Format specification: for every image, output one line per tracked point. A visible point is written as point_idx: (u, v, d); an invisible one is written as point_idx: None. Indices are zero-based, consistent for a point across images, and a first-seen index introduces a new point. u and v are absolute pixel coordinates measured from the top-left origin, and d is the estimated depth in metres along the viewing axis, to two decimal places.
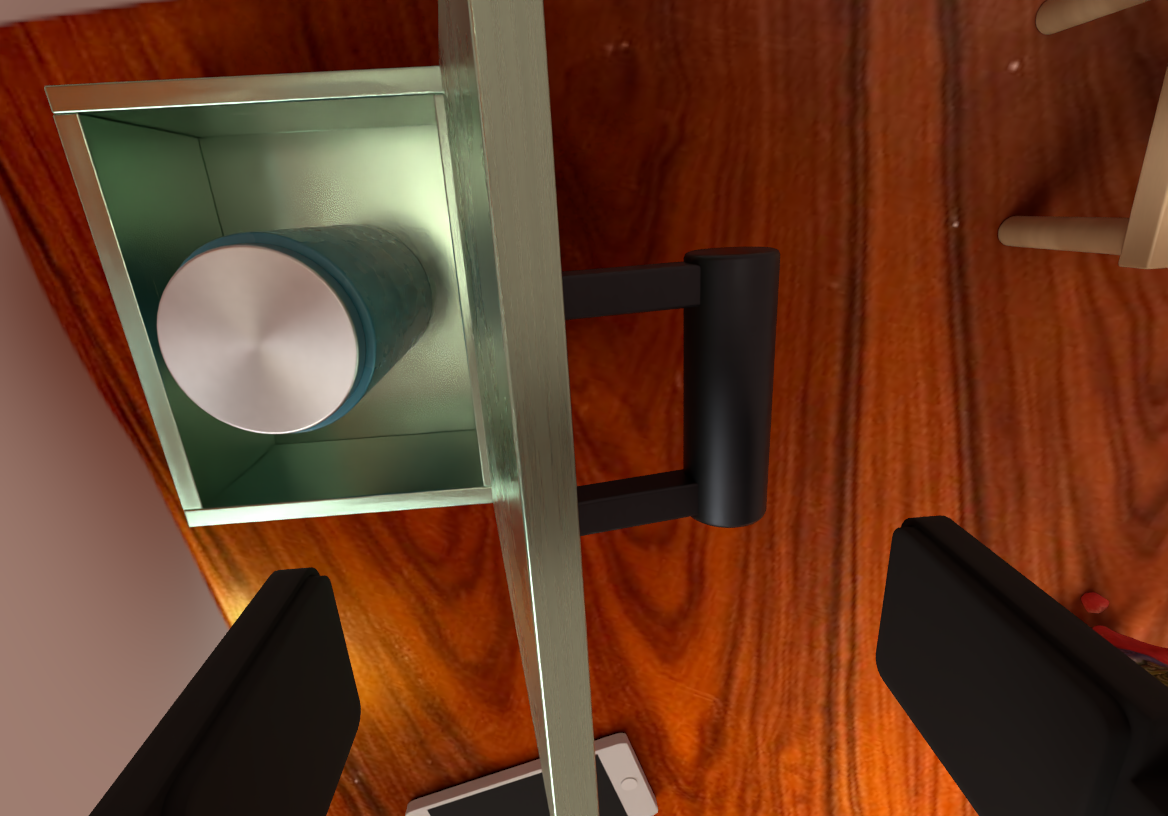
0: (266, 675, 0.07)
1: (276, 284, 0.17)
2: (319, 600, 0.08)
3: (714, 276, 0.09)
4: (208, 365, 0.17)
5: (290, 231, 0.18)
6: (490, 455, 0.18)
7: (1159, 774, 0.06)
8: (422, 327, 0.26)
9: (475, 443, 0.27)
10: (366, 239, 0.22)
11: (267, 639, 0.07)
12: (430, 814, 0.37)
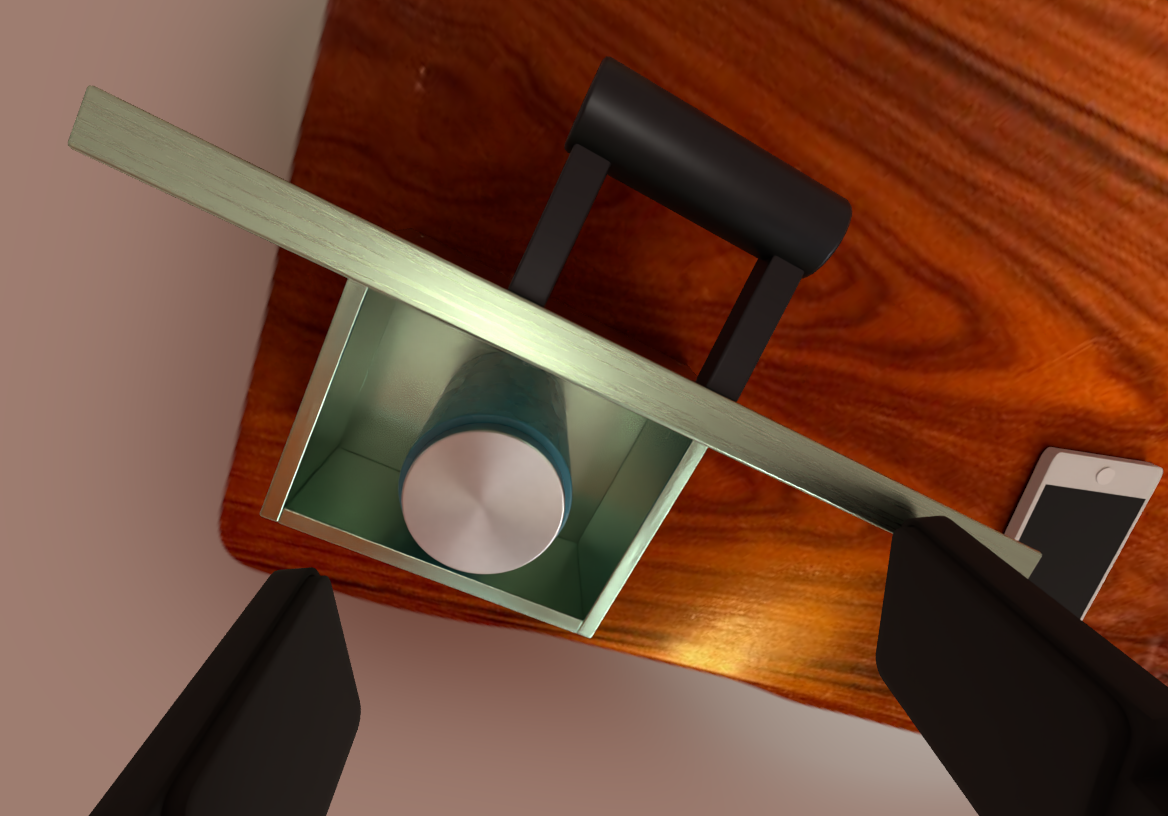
0: (266, 675, 0.07)
1: (448, 465, 0.20)
2: (319, 600, 0.08)
3: (590, 135, 0.09)
4: (478, 547, 0.21)
5: (421, 431, 0.22)
6: None
7: (1159, 774, 0.06)
8: (552, 383, 0.28)
9: None
10: (460, 381, 0.25)
11: (268, 639, 0.07)
12: None
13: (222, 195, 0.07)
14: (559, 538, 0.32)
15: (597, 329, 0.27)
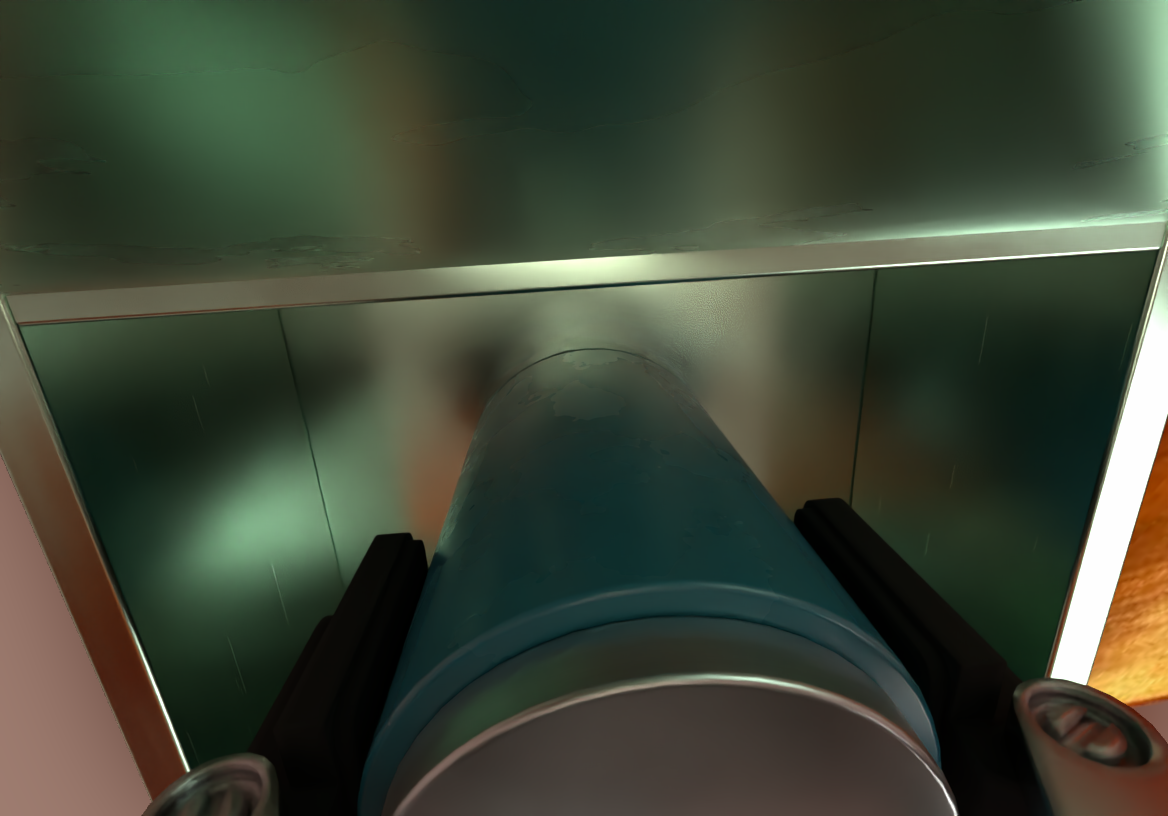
0: (391, 620, 0.08)
1: None
2: (418, 561, 0.09)
3: None
4: None
5: None
6: None
7: (981, 719, 0.07)
8: (652, 373, 0.13)
9: (925, 278, 0.12)
10: (462, 478, 0.11)
11: (385, 591, 0.08)
12: None
13: None
14: None
15: None
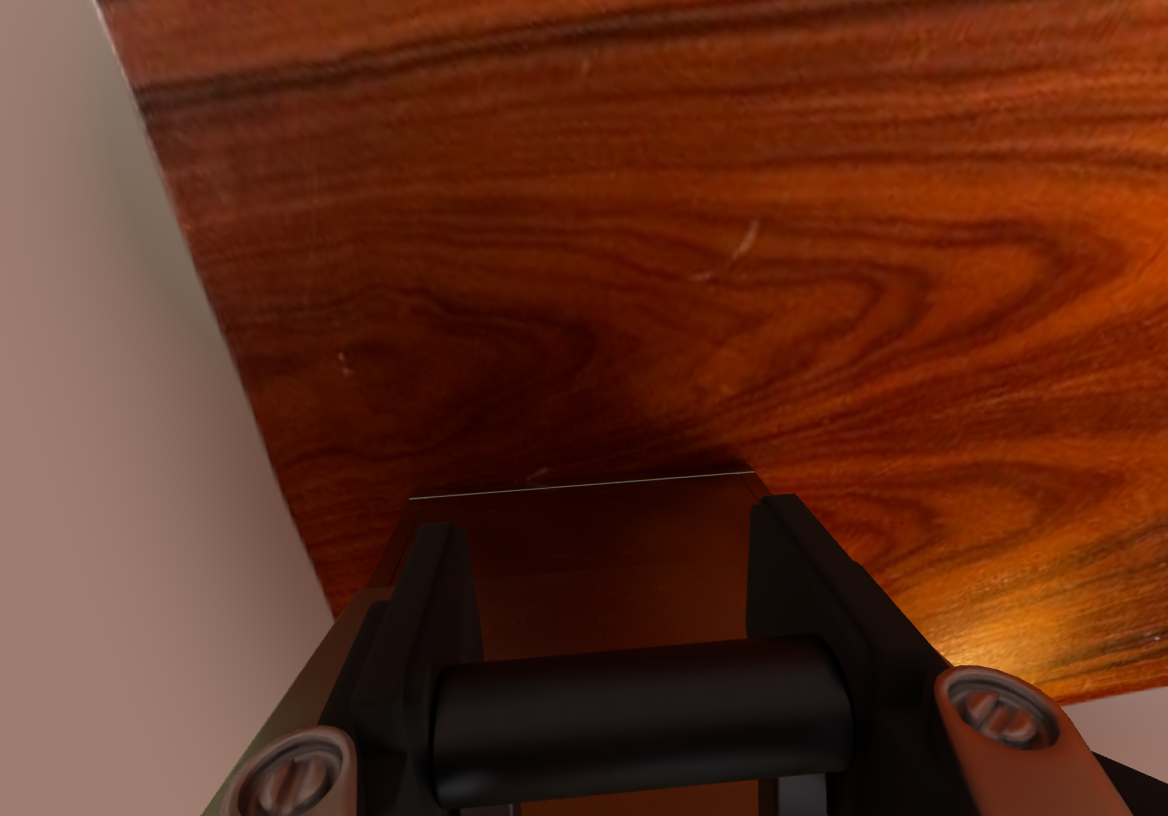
0: (445, 604, 0.08)
1: None
2: (462, 548, 0.09)
3: (467, 807, 0.07)
4: None
5: None
6: None
7: (910, 707, 0.07)
8: None
9: None
10: None
11: (437, 575, 0.08)
12: None
13: None
14: None
15: (635, 504, 0.24)
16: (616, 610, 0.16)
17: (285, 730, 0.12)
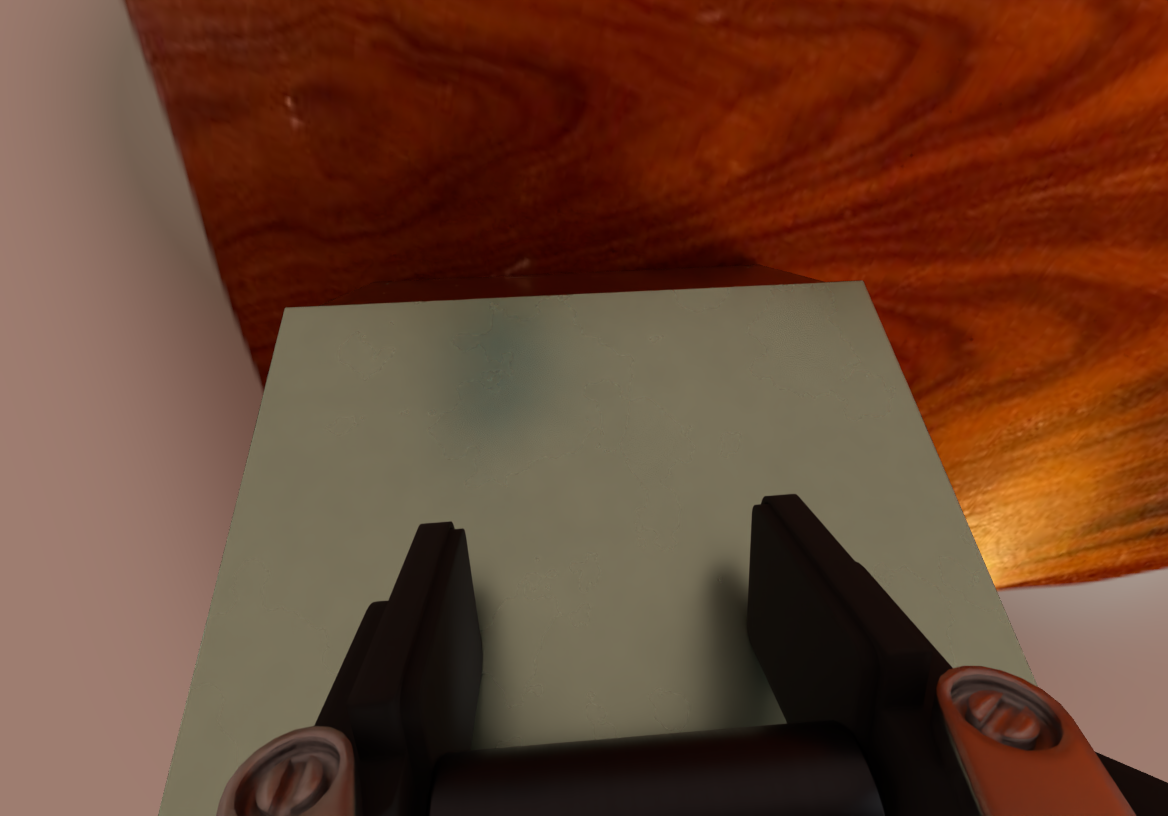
0: (443, 604, 0.08)
1: None
2: (461, 549, 0.09)
3: None
4: None
5: None
6: None
7: (914, 707, 0.07)
8: None
9: None
10: None
11: (435, 576, 0.08)
12: None
13: None
14: None
15: (629, 278, 0.20)
16: (606, 374, 0.14)
17: (254, 546, 0.12)
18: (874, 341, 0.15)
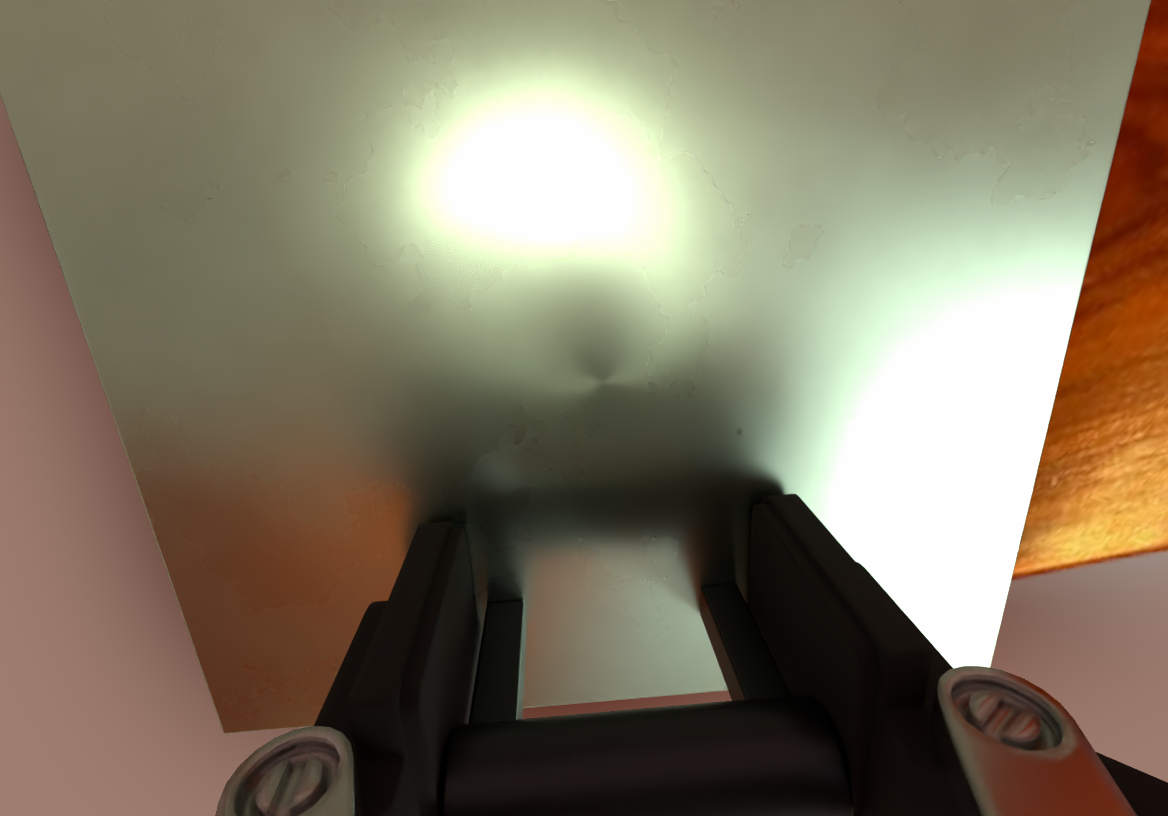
0: (443, 605, 0.08)
1: None
2: (461, 549, 0.09)
3: None
4: None
5: None
6: None
7: (913, 706, 0.07)
8: None
9: None
10: None
11: (435, 576, 0.08)
12: None
13: None
14: None
15: None
16: (625, 100, 0.08)
17: (145, 393, 0.09)
18: (1118, 32, 0.08)
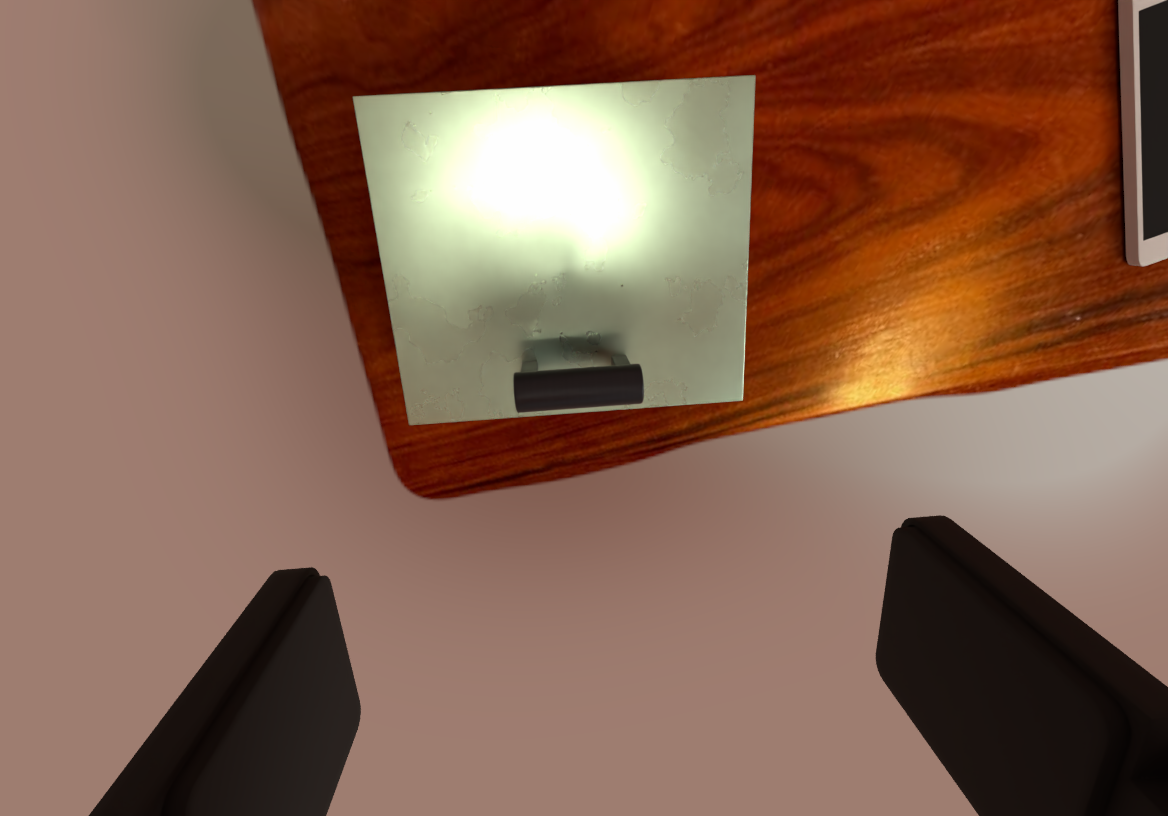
0: (266, 676, 0.07)
1: None
2: (319, 600, 0.08)
3: None
4: None
5: None
6: None
7: (1158, 774, 0.06)
8: None
9: None
10: None
11: (268, 638, 0.07)
12: (1151, 237, 0.33)
13: None
14: None
15: None
16: (572, 160, 0.23)
17: (396, 268, 0.24)
18: (743, 135, 0.23)
